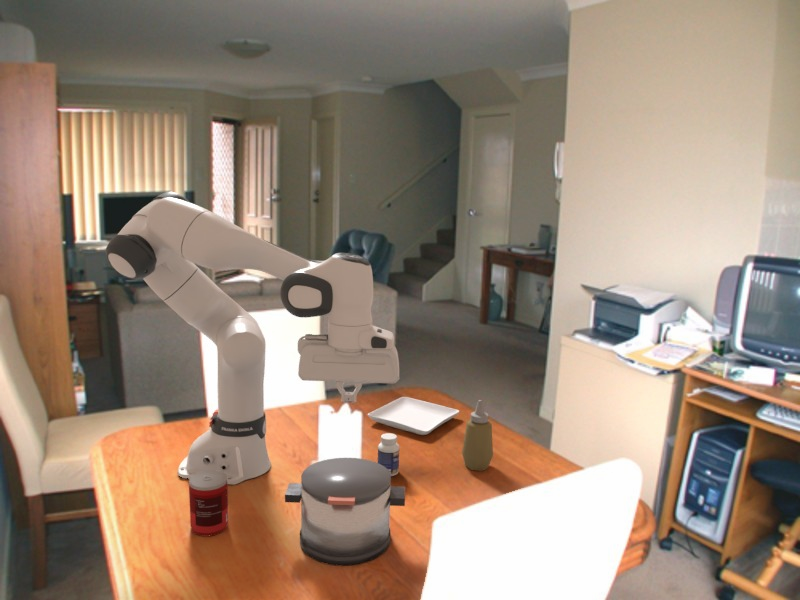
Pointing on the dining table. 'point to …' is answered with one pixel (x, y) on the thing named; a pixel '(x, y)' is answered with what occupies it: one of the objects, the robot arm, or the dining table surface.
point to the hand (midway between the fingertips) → (348, 401)
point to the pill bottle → (389, 453)
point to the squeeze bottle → (478, 440)
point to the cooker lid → (345, 480)
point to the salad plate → (413, 415)
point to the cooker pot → (345, 526)
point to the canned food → (208, 502)
